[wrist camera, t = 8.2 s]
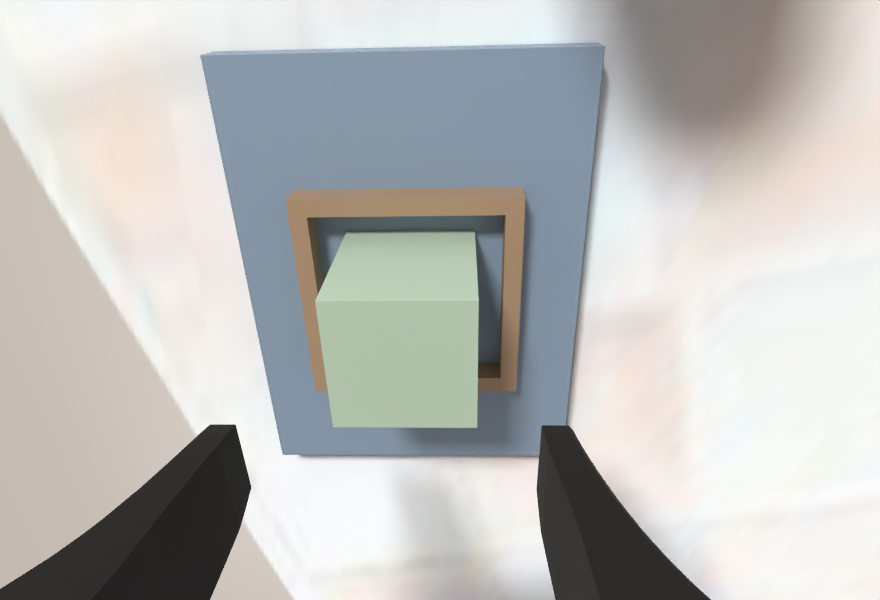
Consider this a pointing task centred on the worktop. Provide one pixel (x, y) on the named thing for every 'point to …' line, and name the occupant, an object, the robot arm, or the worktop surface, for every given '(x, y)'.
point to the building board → (414, 212)
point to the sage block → (401, 329)
